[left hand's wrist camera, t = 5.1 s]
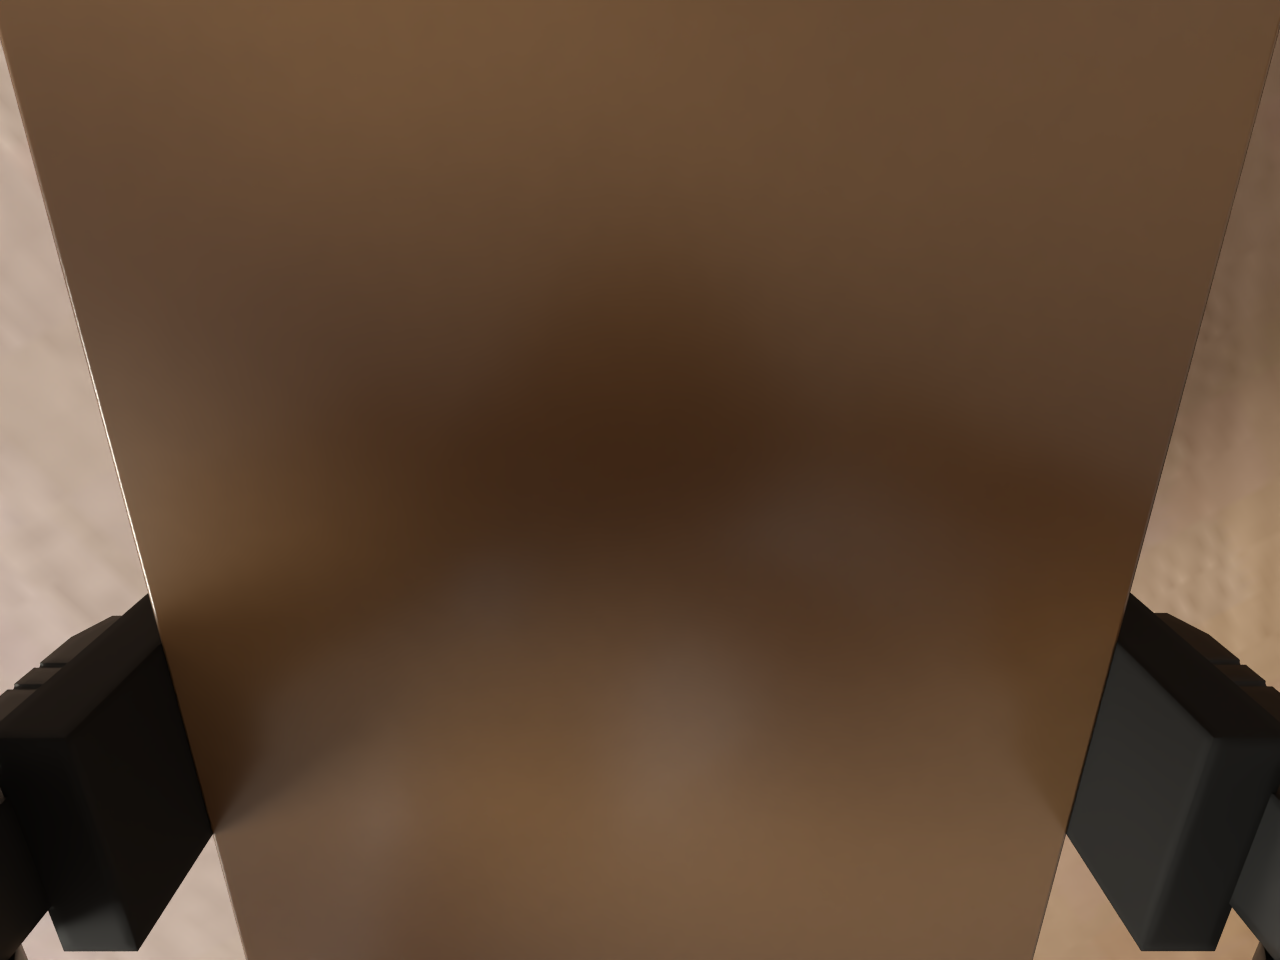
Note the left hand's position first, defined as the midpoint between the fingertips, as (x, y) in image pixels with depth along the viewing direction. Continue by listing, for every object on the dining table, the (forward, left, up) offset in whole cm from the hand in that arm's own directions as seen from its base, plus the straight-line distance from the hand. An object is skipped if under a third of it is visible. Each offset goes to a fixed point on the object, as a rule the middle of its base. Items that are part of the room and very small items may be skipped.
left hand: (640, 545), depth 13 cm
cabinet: (+4, 0, -6) cm, 7 cm away
